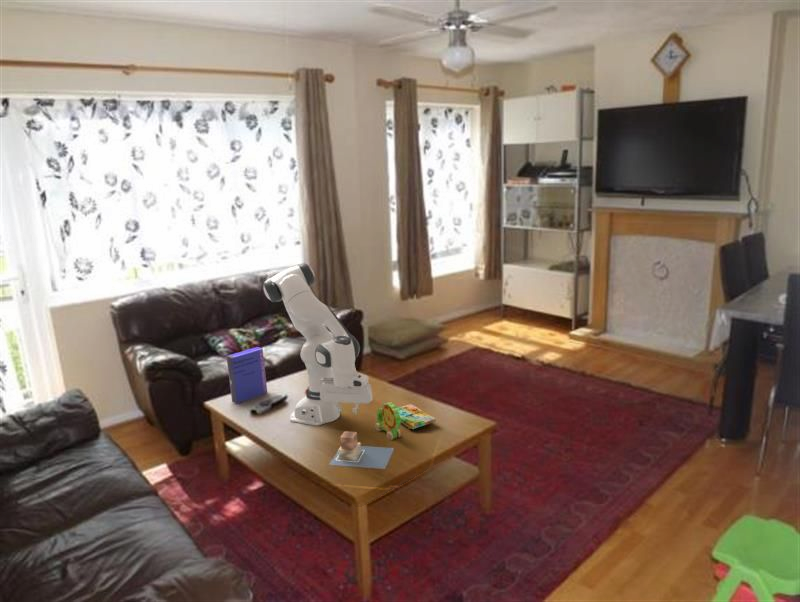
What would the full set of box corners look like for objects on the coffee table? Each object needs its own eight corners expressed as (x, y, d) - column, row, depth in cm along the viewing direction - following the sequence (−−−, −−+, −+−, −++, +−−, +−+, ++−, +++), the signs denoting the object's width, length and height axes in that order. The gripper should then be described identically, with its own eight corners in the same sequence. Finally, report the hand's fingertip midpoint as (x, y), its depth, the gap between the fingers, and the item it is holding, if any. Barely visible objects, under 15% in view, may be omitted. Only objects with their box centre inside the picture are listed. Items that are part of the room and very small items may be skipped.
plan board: (329, 466, 218) (329, 464, 218) (342, 446, 233) (341, 444, 233) (385, 470, 213) (384, 468, 213) (394, 449, 229) (394, 447, 228)
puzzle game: (410, 402, 263) (435, 417, 246) (410, 411, 264) (436, 427, 247) (388, 408, 257) (413, 424, 240) (389, 418, 258) (413, 434, 241)
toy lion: (374, 430, 246) (372, 397, 242) (384, 426, 249) (383, 394, 245) (393, 444, 233) (392, 410, 229) (404, 440, 236) (403, 406, 232)
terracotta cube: (341, 448, 221) (340, 437, 220) (345, 442, 226) (344, 431, 225) (353, 449, 220) (352, 438, 219) (357, 443, 225) (356, 432, 224)
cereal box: (262, 390, 296) (257, 346, 290) (267, 392, 293) (262, 348, 287) (231, 401, 284) (226, 355, 278) (237, 403, 281) (231, 357, 275)
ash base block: (338, 459, 222) (338, 449, 221) (344, 450, 228) (343, 441, 227) (356, 460, 220) (355, 451, 219) (361, 451, 227) (360, 442, 226)
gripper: (316, 380, 216) (318, 414, 219) (368, 382, 211) (370, 417, 215) (321, 374, 222) (324, 407, 225) (372, 376, 217) (374, 410, 221)
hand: (347, 412), depth 220 cm, fingers open, 5 cm apart
